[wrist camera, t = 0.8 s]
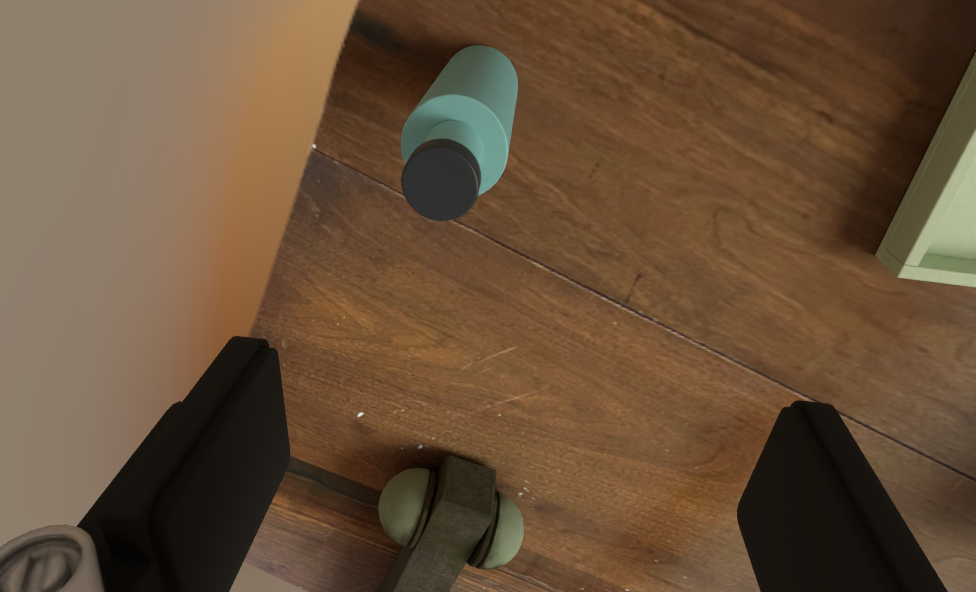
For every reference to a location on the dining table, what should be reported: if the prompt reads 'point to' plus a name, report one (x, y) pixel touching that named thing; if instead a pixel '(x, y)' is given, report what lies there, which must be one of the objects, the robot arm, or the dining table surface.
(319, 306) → the dining table surface
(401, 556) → the post
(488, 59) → the bottle
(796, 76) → the dining table surface
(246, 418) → the robot arm
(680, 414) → the dining table surface
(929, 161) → the tray
